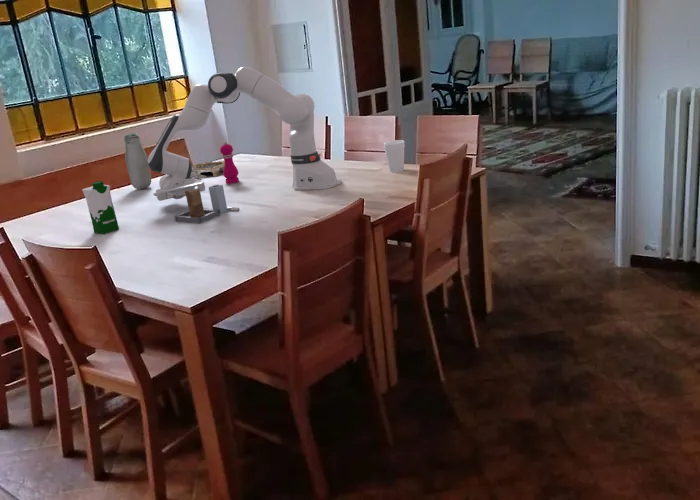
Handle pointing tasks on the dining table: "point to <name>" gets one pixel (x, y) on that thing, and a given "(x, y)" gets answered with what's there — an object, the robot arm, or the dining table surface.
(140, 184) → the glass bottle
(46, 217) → the dining table surface
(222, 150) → the pepper mill
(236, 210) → the pin gauge
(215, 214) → the tray
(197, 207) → the walnut block
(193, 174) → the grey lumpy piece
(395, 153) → the foam cup
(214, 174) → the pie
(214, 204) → the greyblue block
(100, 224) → the milk carton
